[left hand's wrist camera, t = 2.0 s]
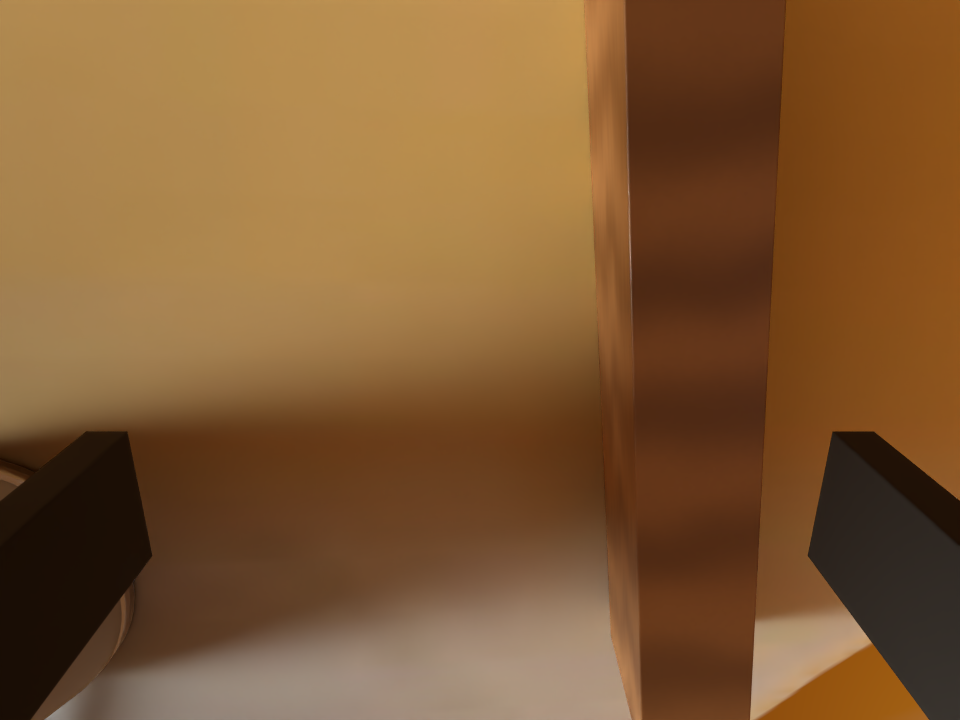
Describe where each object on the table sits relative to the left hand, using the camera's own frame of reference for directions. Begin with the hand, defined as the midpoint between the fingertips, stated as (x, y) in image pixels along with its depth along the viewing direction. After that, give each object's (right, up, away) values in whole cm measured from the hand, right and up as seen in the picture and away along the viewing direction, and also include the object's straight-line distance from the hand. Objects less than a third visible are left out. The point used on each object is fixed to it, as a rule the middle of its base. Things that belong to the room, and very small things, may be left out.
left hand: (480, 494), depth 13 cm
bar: (+8, +3, +20) cm, 21 cm away
